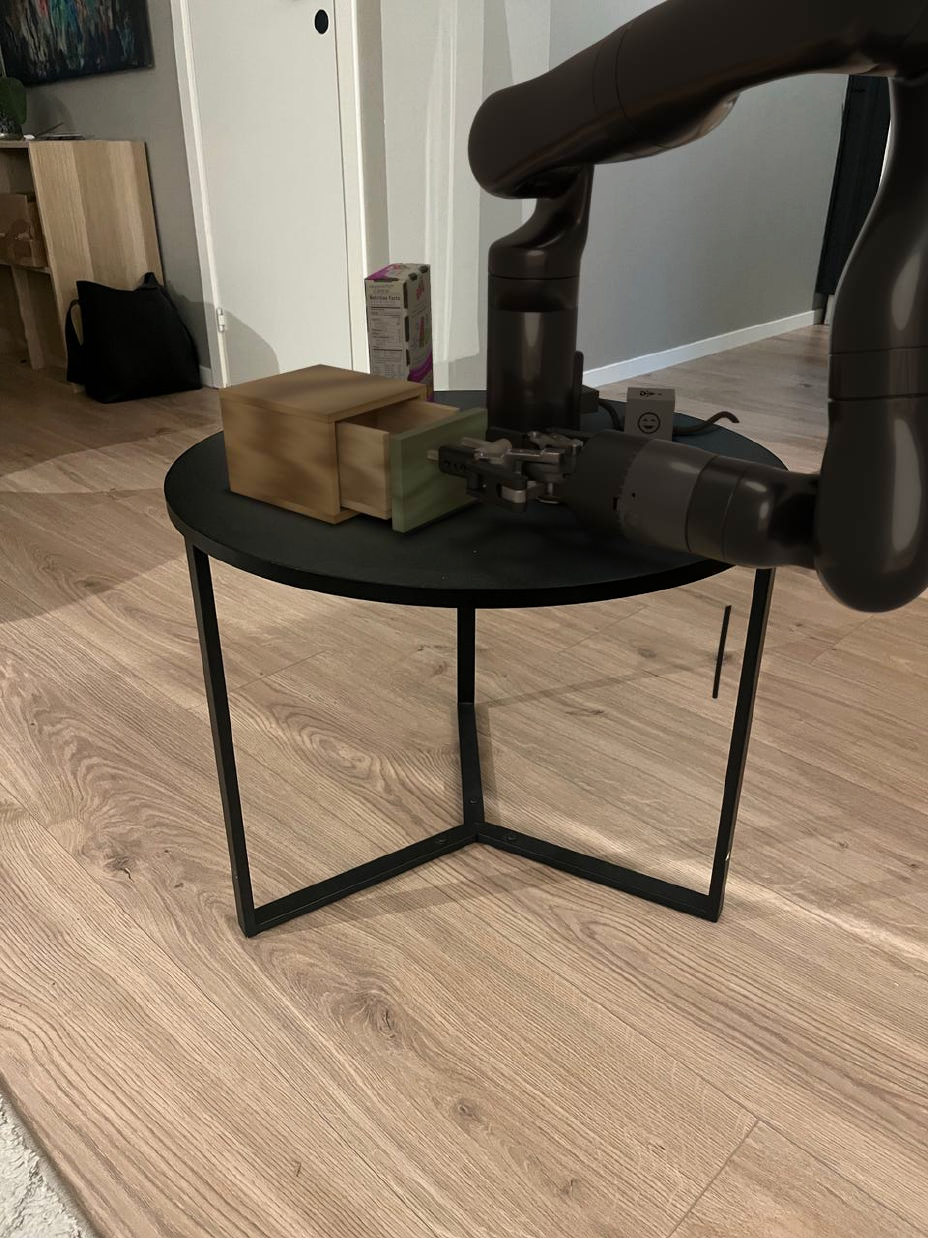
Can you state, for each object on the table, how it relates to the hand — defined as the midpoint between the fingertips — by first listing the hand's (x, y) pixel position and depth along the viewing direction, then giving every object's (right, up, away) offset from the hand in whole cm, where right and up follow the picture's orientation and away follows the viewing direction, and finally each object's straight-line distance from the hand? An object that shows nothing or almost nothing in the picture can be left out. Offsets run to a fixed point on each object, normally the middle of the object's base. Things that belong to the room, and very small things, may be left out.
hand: (465, 448), depth 78 cm
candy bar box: (-7, +9, +34) cm, 36 cm away
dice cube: (+20, +5, +26) cm, 33 cm away
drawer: (-5, -4, +6) cm, 8 cm away
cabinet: (-13, -2, +12) cm, 18 cm away
